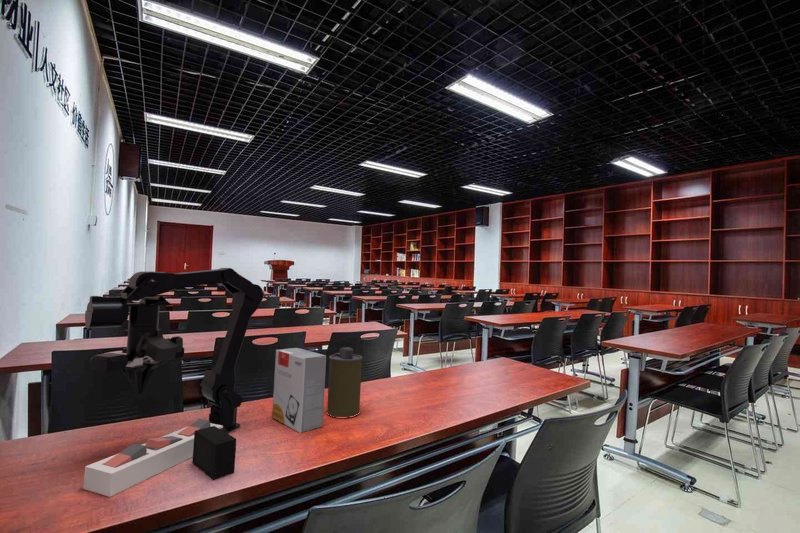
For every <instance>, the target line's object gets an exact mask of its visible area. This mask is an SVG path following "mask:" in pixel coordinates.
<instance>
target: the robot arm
mask: <svg viewBox="0 0 800 533" xmlns="http://www.w3.org/2000/svg"><path fill="white" fill-rule="evenodd" d="M213 284H221V285H222V286H223V287H224V289H226V291H227V292H229V293H230V294H231V295H232V299H231V308H232V316H231V318H230V321H229V324H228V326H227V327H228V328H227V331H226V334H225V337H224V340H223V343H222V346H221V348H220V352H219V354H218V358H217V361H216V364H215V365H214V366H213V367H212V369H211V370H207V369H206V370H204V372H203V373H204V374H203V378H202V380H201V382H200V384H199V386H201V393H202V395H203V397H204V398H206V399H207V402H208V404H211V405H212V406H210V412H209V414H208V421H210V423H212V424H217V425H222V426H223V428H226V429H227V431H228V433H229V432H231V431H233V430H235V429H237V428H240V427H241V423H237V413H238V412H237V411H238V408H240V407H241V405H242V403H243V399H244V398H243V396H241V395H239V394H238V393H237V392H236V391H235V390H236V389H235V388H236V382H237V381H236V370H235V368H236V365H237V362H238V358H239V355H240V352H241V349H242V345H243V342H244V339H245V336H246V333H247V331H248V327H249V323H250V320H251V317H252V316H253V315H254V314H255V312H256V311H257V310H258V309H259V307H260V305H261V303H262V302H263V299H264V294H265V291H263V288H262V287H261V286H260V285H258V284H255V283H253V282H252V281H251V280H249V279H247V278H246V277H244V276H242V275H241V274H239V273H238V272H237V271H236V270H235V269H233V268H231V267H220V268H218V269H208V270H206V269H205V270H196V271H186V272H165V271H152V270H151V271H138V272H135V273H133V274H132V275H131V276H130V278H129V280H128V285H127V286H126V287H125V288H124V289H123V290H121V292H120V293H118V295H117V296H101V295H100V296H99V295H90V296H89V302H88V304H87V307H86V310H84V311H85V312H84V323H85V327H86V329H97V328H98V329H99V328H100V329H101V328H102V329H103V328H104V329H105V328H118V327H119V328H120V327H122V324H123V323H124V324H125V323H126V322H127V321H128V328H127V329H124V330H123V335H124V336H127V339H126V348H125V347H124V348H122V351H121V353H116V352H107V353H99V354H93V356H92V357H91V358H90V360H89V365H88V369H89V370H94V371H104V372H112V371H117V370H122V372H123V374H124V375H125V377H126V378H127V380H128V382H129V384H130V386H131V388H132V389H133V390H132V391H133V392H134V394H135V395H136V396H140V395H143V393H144V391H145V389H146V386H147V384H148V382H149V380H150V378H151V375H153V372H154V370H155V369H157V368H158V367H159V366H161V365H163V364H164V363H165V361H169V360H170V361H171V360H173V359H178V358H184V357H185V348H184V341H183V340H184V339H183V337H181V336H180V335H179V336H172V337H169V338H165V337H164V332H163V329H159V320H160V307H169V306H170V305H171V303H170V302H169V301H168V300H167V299H166V298H165V297H164V295H162V294H167V293H169V292H172V291H174V290H178V289H181V288H190V287H197V286H205V285H206V286H208V285H213ZM146 297H155V298H146ZM138 301H139V302H138ZM131 302H132V303H131ZM133 302H134V303H133Z"/></svg>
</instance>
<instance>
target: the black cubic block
mask: <svg viewBox="0 0 800 533" xmlns="http://www.w3.org/2000/svg"><path fill="white" fill-rule="evenodd" d="M236 449H237V438H236V437H234V436H233V435H231V434H229V432H228V431H227V429H226V428H220V429H219V428H217V427H215V426H212V427H208V428H204V429H200V430H196V431H195V433H194V446H193V457H192V461H191V462H192V464H193V466H195V467H196V468H198V469H199V470H200V471H201V472H202V473H204V474H205V476H208V477H209V478H210V479H212V481H216V480H218V479H221V478H224V477H226V476H229V475H232V474H234V473H235V467H236V465H235V464H236V453H237V451H236Z"/></svg>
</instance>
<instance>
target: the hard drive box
mask: <svg viewBox="0 0 800 533" xmlns="http://www.w3.org/2000/svg"><path fill="white" fill-rule="evenodd" d="M274 359H275V362H274V379H273V394H272V395H273V396H272V410H271V412H272V413H271V418H272V417H273V418H272V419H274V420H276V421H277V420H278V421H279V423H281V424H282V425H285V426H287V427H289V428H290V429H291V428H292V430H293V431H295V432H297V433H299V434H302V433H305V431H306V432H308V431H312V430H315V428H316V429H319V428H322V427H323V426H324V409H325V408H324V405H325V387H326V385H325V384H326V368H327V367H326V365H327V355H325V354H322V353H318V352H315V351H311V350H307V349H304V348H299V347H293V348H292V347H291V348H290V347H289V348H283V349H275V358H274ZM278 421H277V422H278Z"/></svg>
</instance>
